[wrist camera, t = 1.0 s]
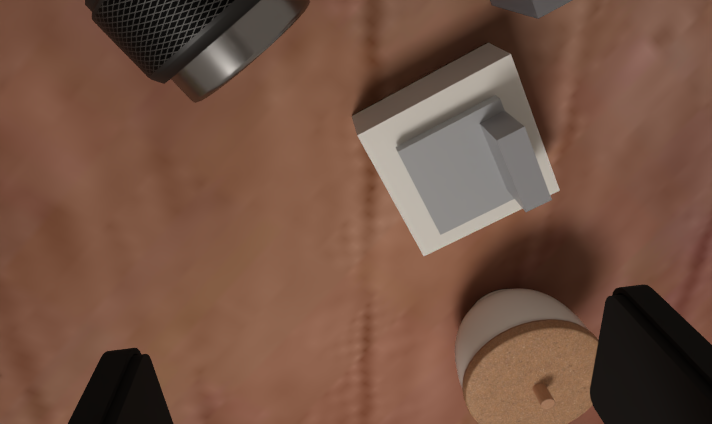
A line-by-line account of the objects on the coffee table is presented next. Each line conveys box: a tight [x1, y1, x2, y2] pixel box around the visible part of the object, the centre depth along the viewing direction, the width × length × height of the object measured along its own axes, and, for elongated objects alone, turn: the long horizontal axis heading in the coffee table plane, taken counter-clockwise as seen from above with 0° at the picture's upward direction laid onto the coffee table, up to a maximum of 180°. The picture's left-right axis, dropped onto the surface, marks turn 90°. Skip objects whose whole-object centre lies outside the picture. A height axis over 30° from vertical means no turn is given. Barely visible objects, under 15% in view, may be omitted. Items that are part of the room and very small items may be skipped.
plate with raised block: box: [396, 95, 552, 235], centre depth 30 cm, size 7×7×4 cm
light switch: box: [352, 43, 560, 256], centre depth 34 cm, size 10×10×4 cm
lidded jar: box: [455, 288, 599, 424], centre depth 39 cm, size 11×11×9 cm
